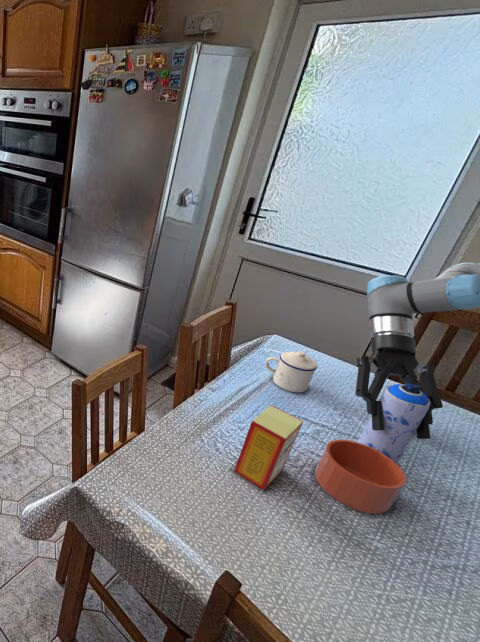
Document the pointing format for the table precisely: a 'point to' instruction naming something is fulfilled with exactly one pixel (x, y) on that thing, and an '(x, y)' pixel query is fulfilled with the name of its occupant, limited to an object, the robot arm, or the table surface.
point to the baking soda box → (267, 446)
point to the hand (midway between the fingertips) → (400, 433)
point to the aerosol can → (397, 420)
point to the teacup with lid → (293, 371)
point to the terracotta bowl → (359, 476)
